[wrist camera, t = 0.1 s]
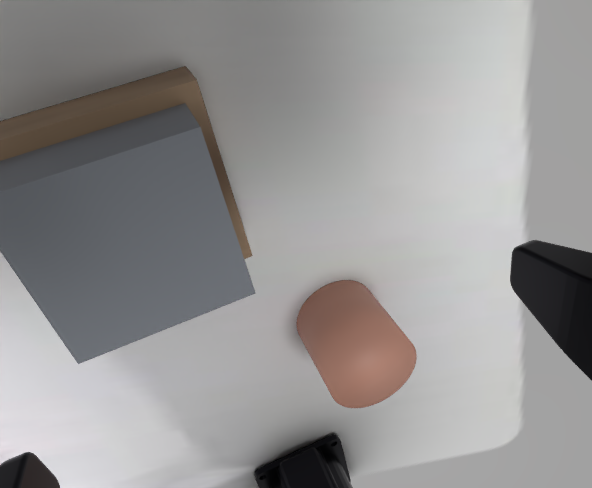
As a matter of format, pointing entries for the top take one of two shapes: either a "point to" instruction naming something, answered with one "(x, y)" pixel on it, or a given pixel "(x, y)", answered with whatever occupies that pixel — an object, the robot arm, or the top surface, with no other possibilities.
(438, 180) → the top surface
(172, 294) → the tower top
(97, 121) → the tower base
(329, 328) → the brick cylinder
